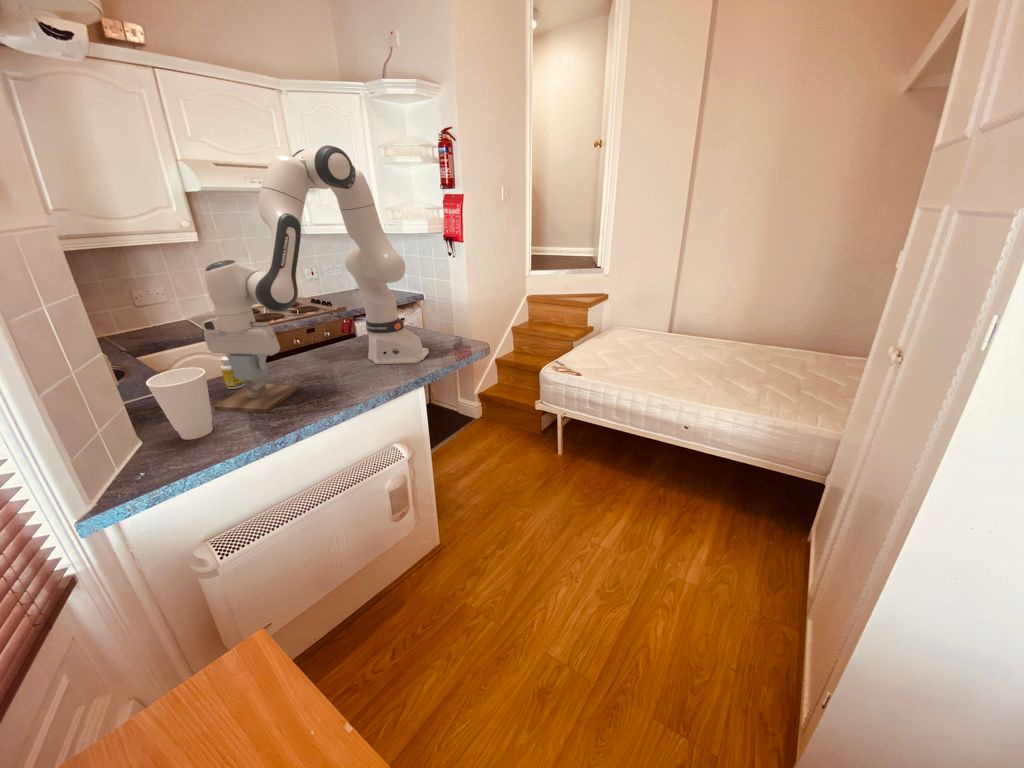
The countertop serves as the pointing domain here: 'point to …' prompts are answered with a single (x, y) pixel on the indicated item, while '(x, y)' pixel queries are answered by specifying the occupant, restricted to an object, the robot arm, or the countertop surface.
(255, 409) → the post base
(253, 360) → the pale grey cube
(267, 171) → the robot arm
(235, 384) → the supplement bottle
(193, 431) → the cup
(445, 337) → the countertop surface
